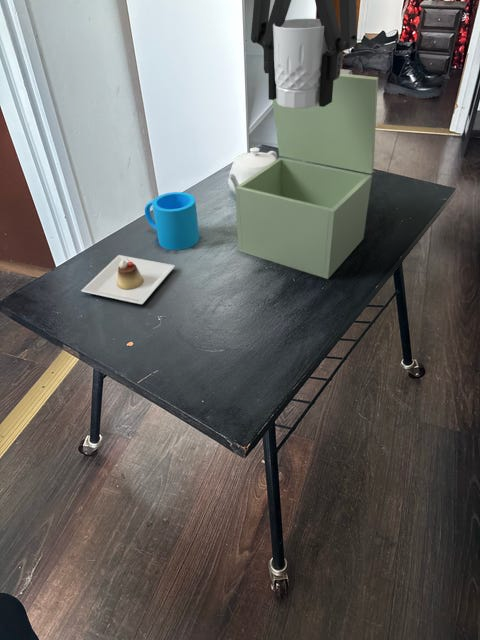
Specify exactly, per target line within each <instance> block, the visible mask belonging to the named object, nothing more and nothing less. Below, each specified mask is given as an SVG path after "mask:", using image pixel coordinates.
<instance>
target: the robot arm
mask: <svg viewBox="0 0 480 640" xmlns="http://www.w3.org/2000/svg"><path fill="white" fill-rule="evenodd" d="M271 1H272V0H253V8H252V18H251V19H252V21H251V31H250V40H251V42H252V43H253V44H258V45H259V46H261V47H262V49H263V72H264V74H268V75H267V76H268V77H267V79H268V82H267V83H268V100H270V101H273V100H274V99H276V82H275V67H274V40H273V24H274V23H275V26H277V27H281V26H282V25H283V24H284V22H285V20H286V19H287V15H288V12H289V9H290V6H291V3H292V0H274V2H273V5H272V8H271ZM314 2H315V7H316V10H317V14H318V19H320V22H321V26H324V38H325V41H326V45H327V49H328V51H327V52H326V53H325V54H323V55H322V65H321V82H320V98H319V106H320V107H325V106H326V105H328V104H329V103H331V102H332V95H333V82H334V80H336V79H338V78H339V76H340V69H342V68H341V66H342V57H343V56H342V55H343V53H344V51H347V50H349V49H351V48H353V47H355V46H356V45H357V44H358V25H357V24H358V19H357V17H358V16H357V0H338V5H339V20H338V15H337V12H336V8H335V3H334V0H314ZM270 11H271V12H270Z"/></svg>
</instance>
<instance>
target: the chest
mask: <svg viewBox="0 0 480 640" xmlns="http://www.w3.org/2000/svg"><path fill="white" fill-rule="evenodd" d="M372 178H373V175H372V174H368V173H363V172H358V171H353V170H348V169H343V168H338V167H333V166H328V165H323V164H318V163H313V162H308V161H303V160H298V159H292V158H287V157H282V156H279V157H277V159H276V160H275V161H274V162H272V163H271V164H269V165H268V166H266V167H265V168H263V169H262V170H261V171H259V172H258V173H256V174H255V175H253V176H252V177H250V178H249V179H247V180H246V181H244V182H243V183H241V184H240V185H238V186H237V187H235V193H236V194H235V209H236V230H237V247H238V249H237V250H238V252H240V253H243V254H246V255H250V256H253V257H256V258H259V259H262V260H266V261H269V262H272V263H275V264H279V265H282V266H285V267H288V268H292V269H295V270H298V271H300V272H304V273H306V274H311V275H313V276H317V277H319V278H323V279H326V280H329V279H330V278H331V276H333V274H334V273H335V272H336V271H337V270H338V269H339V268H340V267H341V265H342V264H343V263H344V262H345V261H346V260H347V258H348V257H349V256H350V255H351V254H352V252H353V251H355V249H356V248H357V246H359V244H361V243H362V241H363V240H364V237H365V231H366V222H367V216H368V207H369V201H370V194H371V193H370V192H371V187H372V186H371V185H372V180H373V179H372Z"/></svg>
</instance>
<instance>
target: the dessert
mask: <svg viewBox="0 0 480 640" xmlns="http://www.w3.org/2000/svg"><path fill="white" fill-rule="evenodd" d="M175 267H176V265H175V264H171V263H165V262H159V261H155V260H148V259H144V258H137V257H132V256H127V255H121V254H117V256H116V257H114V259H112V260H111V261H110V262H109V264H107V265H106V266H105V267H104V268H103V269H102V270H101V271H100V272H99V273H98V274H97V275H95V276H94V278H93V279H92V280H90V281H89V282H88V284H86V285H85V286H84V287H83V288H82V289H81V290H80V292H81V293H82V292H83V293H87V294H91V295H96V296H101V297H104V298H110V299H115V300H119V301H123V302H128V303H133V304H137V305H143V304H144V303H145V302H146V301H147V300H148V298H149V297H150V296H151V295H152V294H153V292H155V290H156V289H157V288H158V287H159V286H160V285H161V283H162V282H163V281H164V280H165V279H166V278H167V276H169V274H170V273H171V272H172V270H174V268H175Z"/></svg>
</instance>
